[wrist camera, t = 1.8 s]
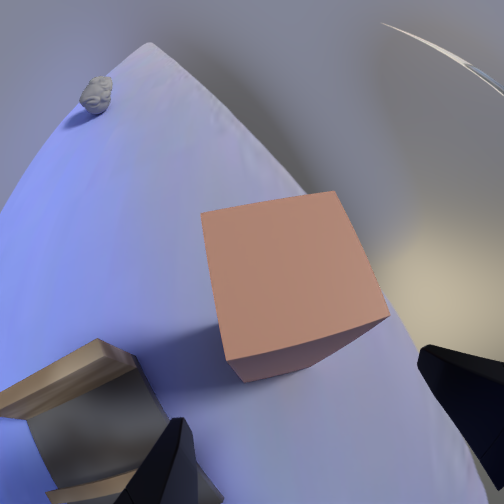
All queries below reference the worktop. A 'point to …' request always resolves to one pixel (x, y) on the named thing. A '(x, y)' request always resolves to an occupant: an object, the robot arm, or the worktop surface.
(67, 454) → the cleat board
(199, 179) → the worktop surface
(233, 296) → the cabinet block
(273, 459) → the worktop surface
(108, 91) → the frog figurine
